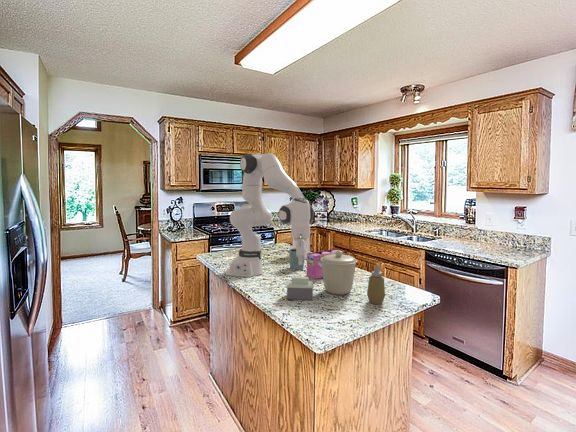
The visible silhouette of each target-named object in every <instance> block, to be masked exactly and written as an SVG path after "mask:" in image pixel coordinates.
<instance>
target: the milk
mask: <svg viewBox="0 0 576 432" xmlns="http://www.w3.org/2000/svg"><path fill="white" fill-rule="evenodd" d="M310 237H311V236H310ZM310 237H308V238H307V241H306V242H305V256H304V260H307V253H311V238H310ZM291 249H296V241H295V240H294V238H293V237H292V248H291Z"/></svg>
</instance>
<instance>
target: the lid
mask: <svg viewBox="0 0 576 432" xmlns="http://www.w3.org/2000/svg"><path fill="white" fill-rule="evenodd" d="M309 278H310V277H308V276H291V280H287V282H286V289H287V288H313V289H314V280H309Z"/></svg>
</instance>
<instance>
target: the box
mask: <svg viewBox="0 0 576 432" xmlns="http://www.w3.org/2000/svg"><path fill="white" fill-rule="evenodd" d="M313 294H314V288H286V300H288V301H313V299H314V295H313Z"/></svg>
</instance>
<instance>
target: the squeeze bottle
mask: <svg viewBox="0 0 576 432" xmlns="http://www.w3.org/2000/svg"><path fill="white" fill-rule="evenodd" d="M385 287H386V286H385V278H384V276H383V272H382V271H380V266H379V264H378V263H376V264H375V267H374V270H372V271H371V274H370V276H369V277H368V284H367V292H366V294H367V295H366V296H367V298H368V302H369V303H370V304H372V305H382V304H383V302H384V300H385V297H386V291H385Z"/></svg>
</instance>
